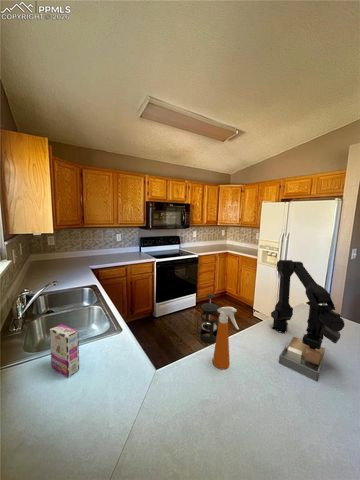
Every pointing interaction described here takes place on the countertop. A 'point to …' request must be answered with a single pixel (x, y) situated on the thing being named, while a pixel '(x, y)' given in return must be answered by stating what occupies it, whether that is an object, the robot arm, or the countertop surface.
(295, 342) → the oak board
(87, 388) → the countertop surface
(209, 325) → the french press
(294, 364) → the tray
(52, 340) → the candy bar box
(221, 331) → the spray bottle
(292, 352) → the cream rectangular block
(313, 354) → the tan cardboard box
